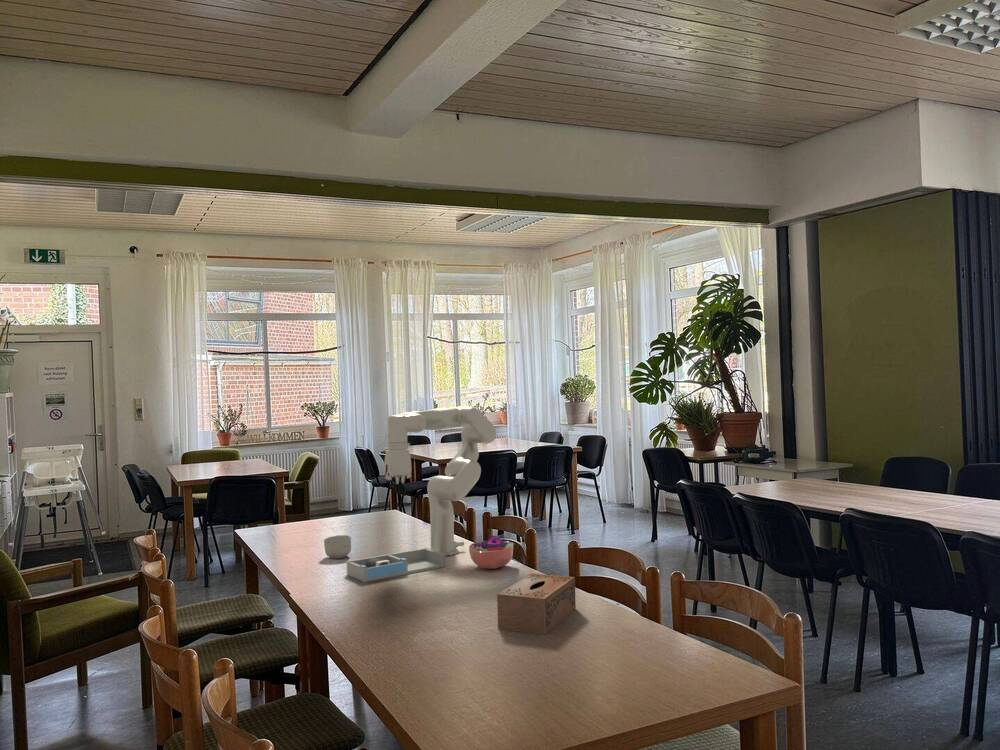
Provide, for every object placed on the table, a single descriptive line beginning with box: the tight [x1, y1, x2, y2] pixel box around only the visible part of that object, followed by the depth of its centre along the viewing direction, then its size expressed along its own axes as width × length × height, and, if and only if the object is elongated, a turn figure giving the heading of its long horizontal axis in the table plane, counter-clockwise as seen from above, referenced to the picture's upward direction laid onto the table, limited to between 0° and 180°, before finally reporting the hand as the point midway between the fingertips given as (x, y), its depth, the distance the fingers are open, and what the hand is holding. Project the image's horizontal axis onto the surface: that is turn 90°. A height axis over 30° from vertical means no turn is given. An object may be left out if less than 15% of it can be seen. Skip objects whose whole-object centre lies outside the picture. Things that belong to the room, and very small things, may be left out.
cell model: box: [468, 535, 514, 570], centre depth 300 cm, size 17×20×11 cm
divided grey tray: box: [346, 547, 446, 583], centre depth 298 cm, size 34×14×5 cm, turn 126°
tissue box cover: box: [496, 572, 576, 635], centre depth 236 cm, size 26×14×10 cm, turn 156°
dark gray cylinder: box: [366, 558, 389, 568], centre depth 293 cm, size 10×4×4 cm, turn 36°
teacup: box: [323, 534, 352, 560], centre depth 325 cm, size 14×11×8 cm
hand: (398, 493), depth 311 cm, fingers closed
